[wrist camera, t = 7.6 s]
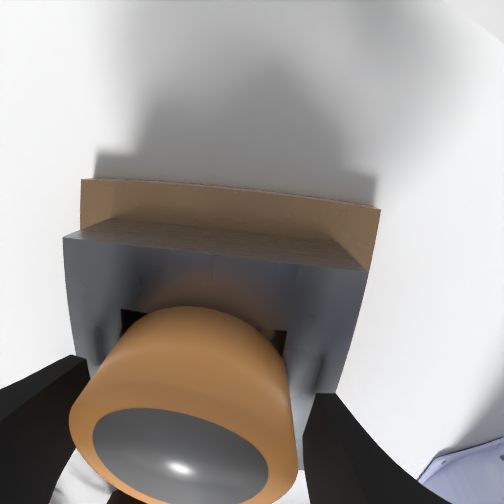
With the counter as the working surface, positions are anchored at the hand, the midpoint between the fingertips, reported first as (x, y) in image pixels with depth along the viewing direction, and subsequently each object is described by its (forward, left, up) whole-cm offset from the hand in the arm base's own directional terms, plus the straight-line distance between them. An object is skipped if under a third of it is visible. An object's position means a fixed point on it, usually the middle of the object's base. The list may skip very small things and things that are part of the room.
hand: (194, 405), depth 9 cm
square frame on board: (0, 0, -5) cm, 5 cm away
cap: (0, 0, -4) cm, 4 cm away
